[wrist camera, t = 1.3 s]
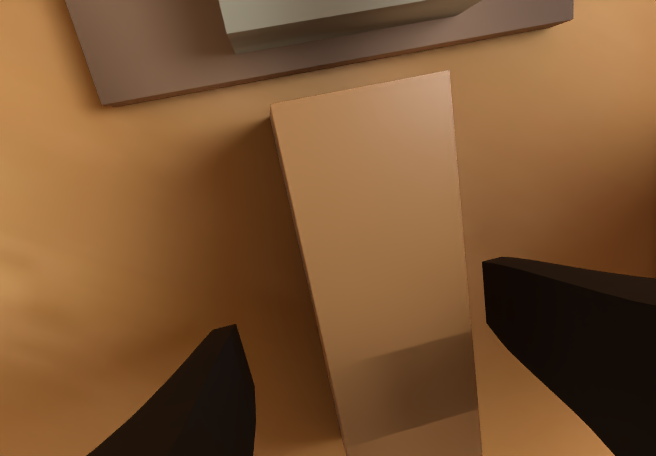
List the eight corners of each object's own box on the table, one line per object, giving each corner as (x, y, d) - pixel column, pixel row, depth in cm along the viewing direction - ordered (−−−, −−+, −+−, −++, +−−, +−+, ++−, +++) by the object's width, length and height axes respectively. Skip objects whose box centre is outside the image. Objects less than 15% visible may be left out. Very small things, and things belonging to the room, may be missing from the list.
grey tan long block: (368, 97, 11) (449, 70, 6) (416, 417, 14) (491, 563, 9) (269, 116, 10) (270, 103, 6) (342, 438, 14) (381, 600, 9)
